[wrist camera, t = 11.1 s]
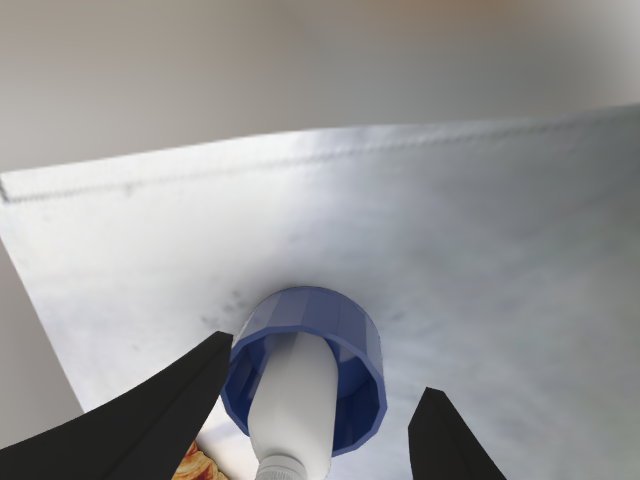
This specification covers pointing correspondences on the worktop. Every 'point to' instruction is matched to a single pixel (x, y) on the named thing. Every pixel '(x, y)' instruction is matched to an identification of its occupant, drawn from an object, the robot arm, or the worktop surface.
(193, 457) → the croissant
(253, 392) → the blue bowl
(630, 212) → the worktop surface
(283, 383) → the eye dropper bottle
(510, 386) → the worktop surface
